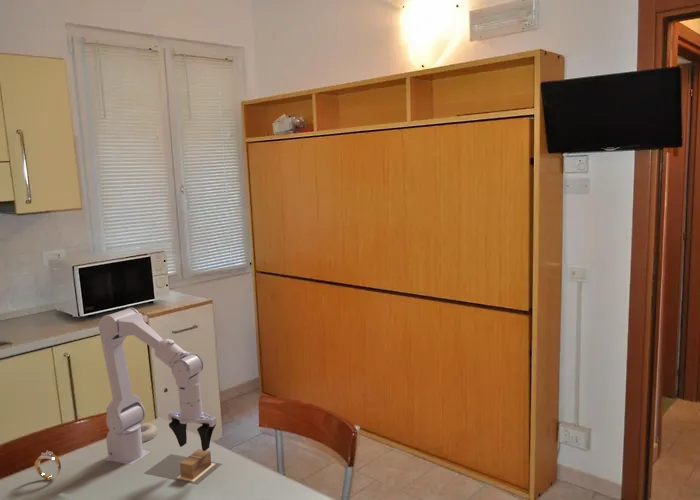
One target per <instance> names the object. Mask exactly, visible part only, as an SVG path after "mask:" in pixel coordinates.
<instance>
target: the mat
mask: <svg viewBox="0 0 700 500" xmlns="http://www.w3.org/2000/svg"><path fill="white" fill-rule="evenodd" d="M187 457H188V456H184V455H183V456H182V455H178V454H177V455H176V454H173V453H170V454H169V455H167V456H165V457H164V458H163V459H162V460H160V461H158V462H157V463H156V464H154V465H153V466H152V467H150V468H149V469H147V470H146V471H145V472H144V474H146V475H151V476H155V477H161V478H165V479H170V480H176V481H178V482H184V483H189V484H193V485H199V484H200V483H202V482H203V480H205V479H207V477H209V476H210V475H211V474H212V473H213V472H214V471H216V470H217V469H218V468H219V467H220V466H221V465H223V464H222V463H220V462H219V463H218V462H215V461H211V465H210V466H209V467H208V468H207V469H205V470H204V471H203V472H202V473H200V474H199V475H198V476H197V477H196V478H194V479H189V478H184V477H181V471H180V462H182V461H183V460H184V459H186V458H187Z"/></svg>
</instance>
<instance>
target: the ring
mask: <svg viewBox="0 0 700 500" xmlns="http://www.w3.org/2000/svg"><path fill="white" fill-rule="evenodd" d="M43 459H48V460H51V462H53V463H54V465H55V468H56V469H55V470H56V471H55V474H54V475H51V474H50V475H48V474H46V473H44V472H43V470H42V469H41V465H40V464H41V461H42V460H43ZM61 466H62V464H61V461H60V459H59V457H58V456H57V455H56V454H54V452H53V451H49V450H47V449H46V452H41V455H39V457H38V458H37V459H36V460H35V462H34V468H35V470H36V472H37V474H38V475H39V476H40V477H41V478H43V479H45V480H47V481H50V480H53V479H55V478H57V477H58V476H59V474H60V472H61V470H62V467H61Z"/></svg>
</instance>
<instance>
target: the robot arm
mask: <svg viewBox="0 0 700 500" xmlns="http://www.w3.org/2000/svg"><path fill="white" fill-rule="evenodd" d="M97 326H98V331H99V335H100V341H101V346H102V350H103V351H102V352H103V356H104V361H105V365H106V371H107V376H108V381H109V385H110V390H111V396H112V400H111V401H110V402H109V404H108V405H107V407H106V418H105V419H106V421H105V422H106V426H107V429H108V430H109V431H108V432H107V435H106V446H107V447H106V448H107V455H108V457H107V458H106V461H107V462H109V461H112V462H116V463H121V464H125V465H133V464H134V463H135V462H138V460H140V459H141V458H143V457H145V456H146V455H148V454H149V453H151V452H150V450H146V449H144V447H143V442H142V435H141V425H142V424H143V421H144V420H145V418H146V415H147V413H146V408H145V406H144V405H143V403H142V400H141V397H140V396H138V395H135V394H134V393H133V389H132V384H131V379H130V374H129V369H128V363H127V358H126V353H125V348H124V343H123V342H124V341H125V339H126V338H127V337H128V336H134V337H135V338H137V339H138V340H140V341H141V342H143V343H145V344H146V345H148V346H149V347H151V348H152V349H153V350H154V356H155V357H156V358H158V360H160V361H161V362H162V363H164V364H165V365H167V366H168V367H169V368H170V369H171V374H172V377H174V380H175V384H176V387H177V389H178V390H177V391H178V399H179V410H170V411H169V412H168V413H167V417H168V421H170V422H169V423H168V427H169V428H170V429H171V431H172V432H173V433H174V436H175V438H176V440H177V443H178V445H179V447H180V448H181V447H182V448H183V446H185V445H186V444H187V441H188V440H187V427H188V424H191V423H192V424H193V423H195V424H200V426H199V427H197V429H196V431H197V432H198V435H199V437H200V442H201V443H200V445H201V450H203V451H208V449H210V444H211V438H212V435H213V433H214V432H213V431H214V430H215V428H216V426H217V424H218V423H217V417H216V416H212V415H210V414H207V413H206V412H204V411H203V403H202V393H201V391H202V390H201V376H200V374H201V373H202V371H203V369H204V361H203V359H202V357H200V355H199V354H198V353H196V352H189V351H186V350H185V349H183V348H182V347H181V346H180V345H178V344H177V343H176V342H175V341H174V340H173V339H170V338H165V339H164V338H163V337H161V336H160V335H159V334H158V333H157V332H156V331H155V330H154V329H153V328H152V327H151V326H150V325H148V324H147V323H146V322H145V321H144V317H143V314H142V313H141V312H139V311H138V310H137V309H136V308H134V307H128V308H126V309H123V310H120V311H119V310H118V311H117V312H113V313H110V314H105V315H103V316H102V317H101V319H100V320H99V321H98V323H97Z"/></svg>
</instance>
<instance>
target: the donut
mask: <svg viewBox="0 0 700 500" xmlns="http://www.w3.org/2000/svg"><path fill="white" fill-rule="evenodd" d="M141 435H142V443H145V442H148V441H150V440H152V439H154V438H155V437H156V436H157V435H158V428H157V426H156V425H155V424H153V423H147V422H146V423H142V425H141Z"/></svg>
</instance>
